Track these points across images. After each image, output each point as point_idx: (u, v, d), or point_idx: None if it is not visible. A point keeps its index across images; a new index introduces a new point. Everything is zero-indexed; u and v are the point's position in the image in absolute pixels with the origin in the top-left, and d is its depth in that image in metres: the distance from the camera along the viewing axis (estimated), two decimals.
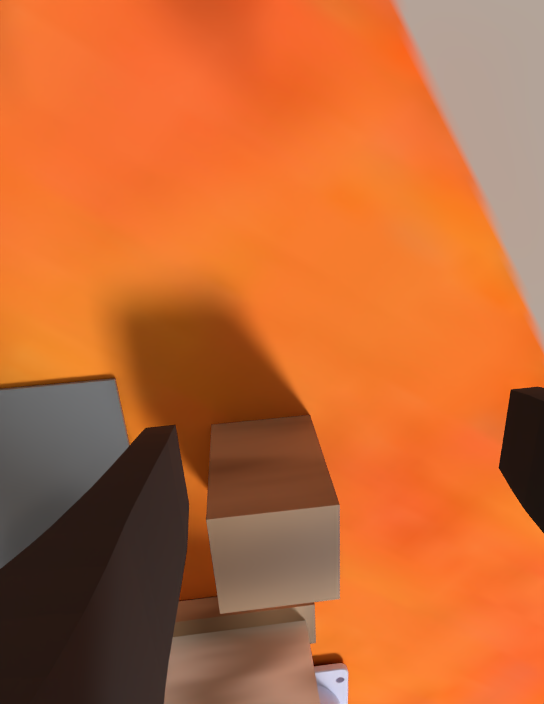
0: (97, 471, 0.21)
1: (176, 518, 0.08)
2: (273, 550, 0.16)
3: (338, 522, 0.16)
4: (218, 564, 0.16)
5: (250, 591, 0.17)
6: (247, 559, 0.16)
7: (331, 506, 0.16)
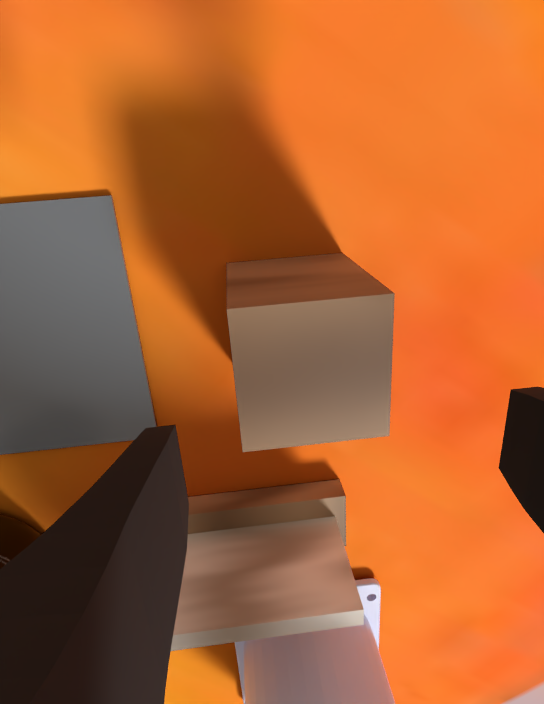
0: (92, 321, 0.18)
1: (176, 518, 0.08)
2: (310, 360, 0.13)
3: (391, 321, 0.13)
4: (241, 378, 0.13)
5: (280, 420, 0.13)
6: (276, 373, 0.13)
7: (383, 297, 0.12)
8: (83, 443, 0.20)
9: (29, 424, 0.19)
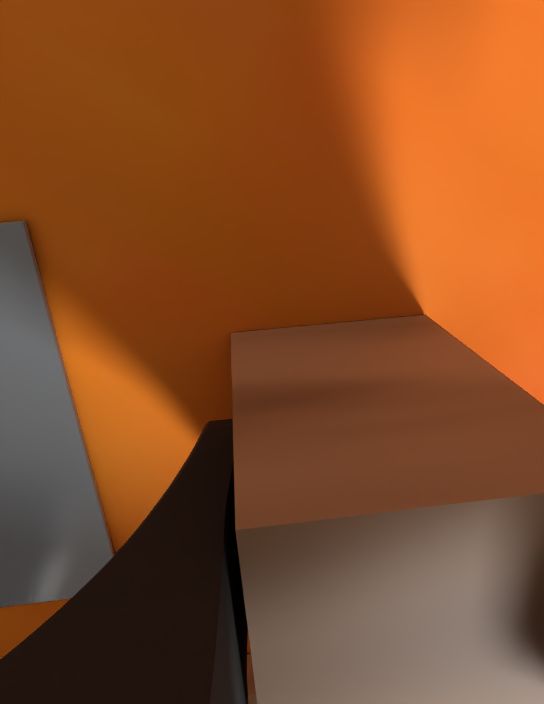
0: (4, 428, 0.10)
1: None
2: (425, 618, 0.06)
3: None
4: (267, 657, 0.06)
5: None
6: (349, 642, 0.06)
7: None
8: (3, 603, 0.12)
9: None
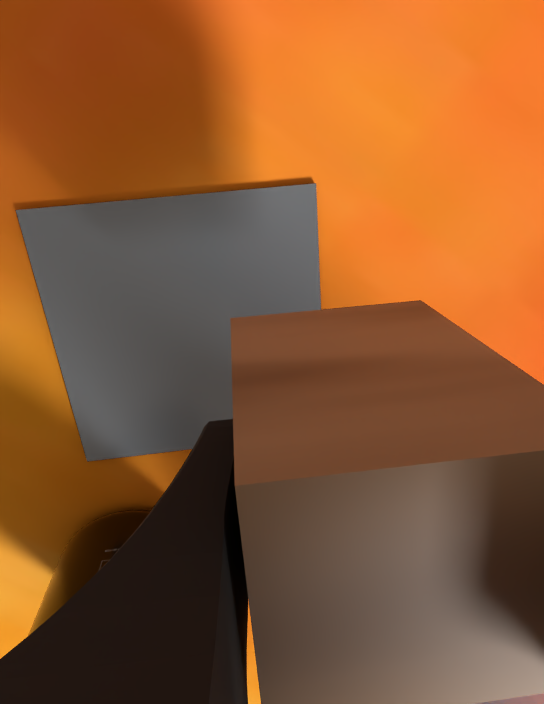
0: (278, 313, 0.17)
1: None
2: (418, 576, 0.06)
3: None
4: (266, 615, 0.06)
5: (345, 681, 0.06)
6: (345, 601, 0.06)
7: None
8: None
9: (201, 420, 0.19)
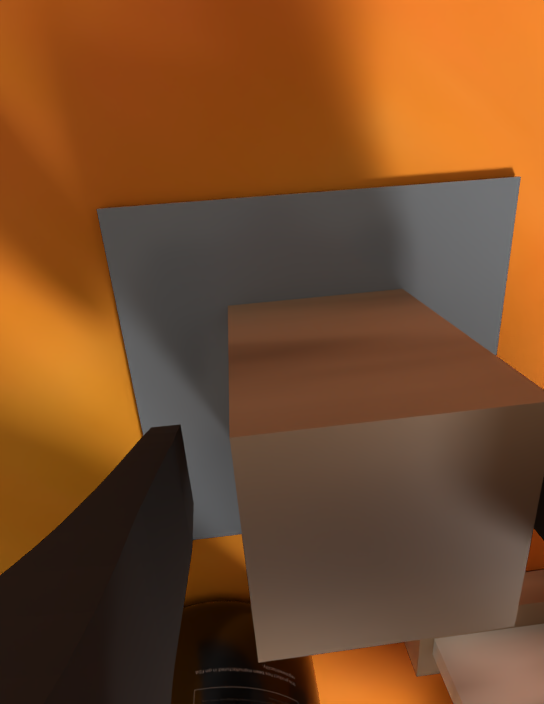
0: None
1: (181, 517, 0.08)
2: (387, 519, 0.07)
3: None
4: (257, 552, 0.07)
5: (327, 613, 0.07)
6: (324, 540, 0.07)
7: (535, 406, 0.06)
8: None
9: None
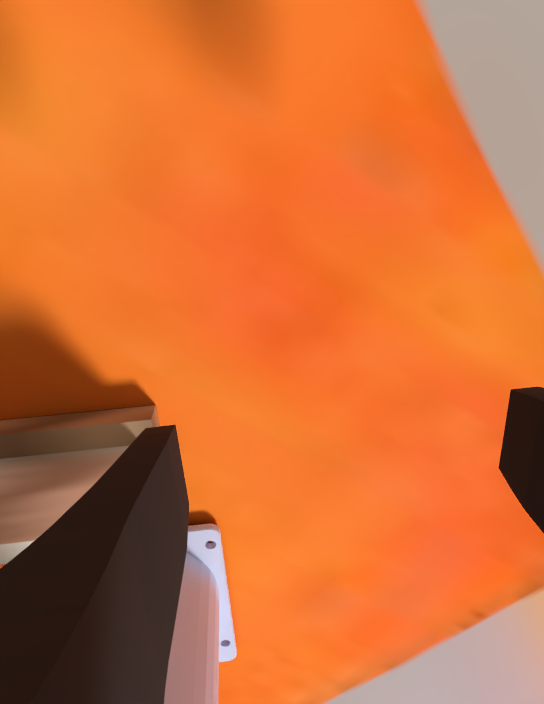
0: None
1: (176, 518, 0.08)
2: None
3: None
4: None
5: None
6: None
7: None
8: None
9: None
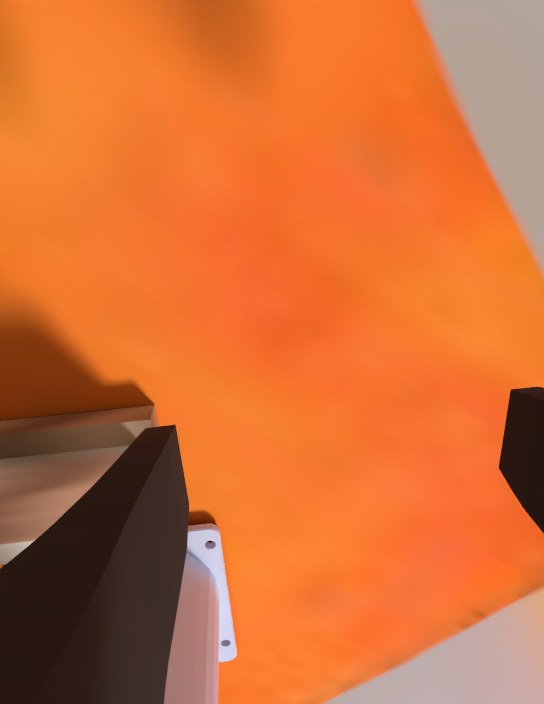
0: None
1: (176, 518, 0.08)
2: None
3: None
4: None
5: None
6: None
7: None
8: None
9: None
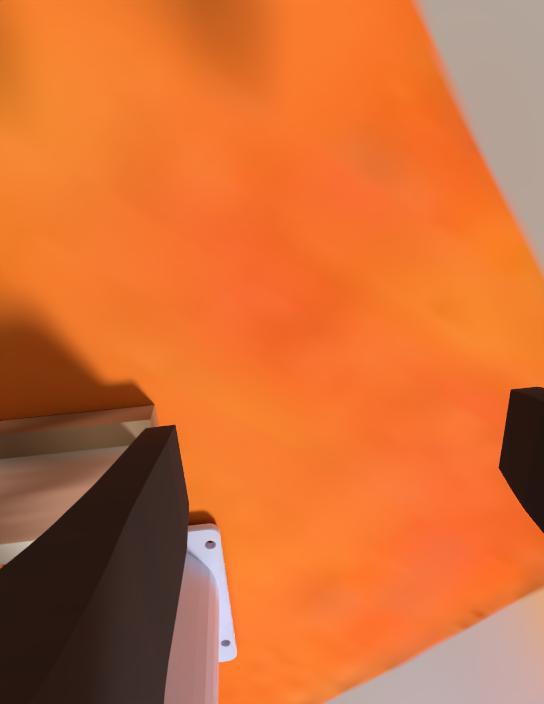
0: None
1: (176, 518, 0.08)
2: None
3: None
4: None
5: None
6: None
7: None
8: None
9: None
